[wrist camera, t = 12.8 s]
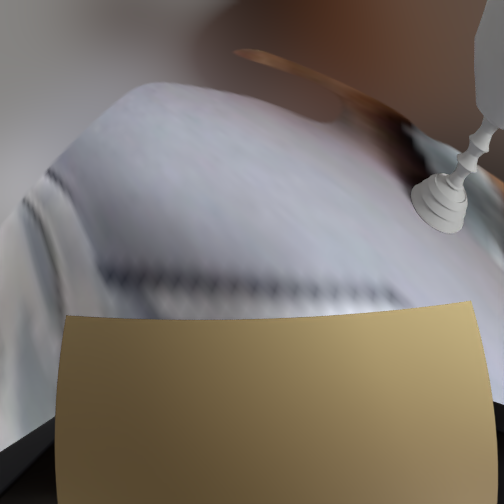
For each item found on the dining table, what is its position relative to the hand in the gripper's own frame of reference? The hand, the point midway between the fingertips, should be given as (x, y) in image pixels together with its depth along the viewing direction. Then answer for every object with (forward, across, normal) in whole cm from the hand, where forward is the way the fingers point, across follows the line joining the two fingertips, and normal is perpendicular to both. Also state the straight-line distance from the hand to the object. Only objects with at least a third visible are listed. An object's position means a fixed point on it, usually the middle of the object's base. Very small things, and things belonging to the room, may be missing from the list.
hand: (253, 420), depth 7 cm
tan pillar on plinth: (+4, 0, +6) cm, 7 cm away
